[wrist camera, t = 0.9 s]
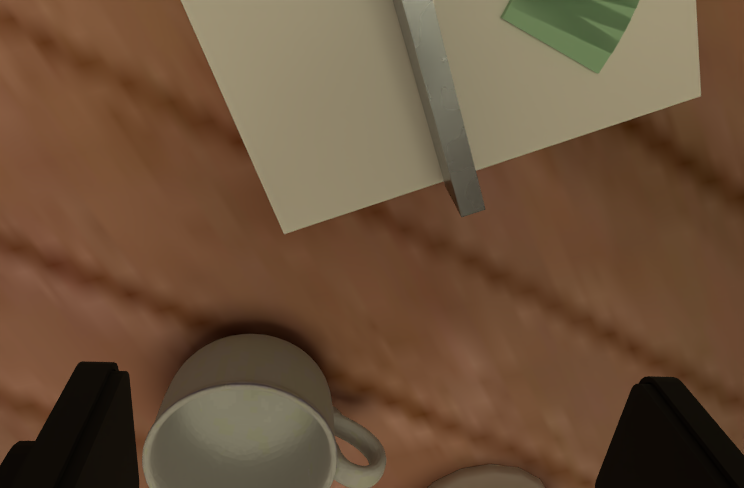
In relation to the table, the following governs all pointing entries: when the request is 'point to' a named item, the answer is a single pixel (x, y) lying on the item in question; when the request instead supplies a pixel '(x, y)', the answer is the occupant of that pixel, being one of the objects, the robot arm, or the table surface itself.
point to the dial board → (400, 93)
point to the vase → (489, 478)
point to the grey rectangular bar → (440, 102)
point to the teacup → (254, 423)
